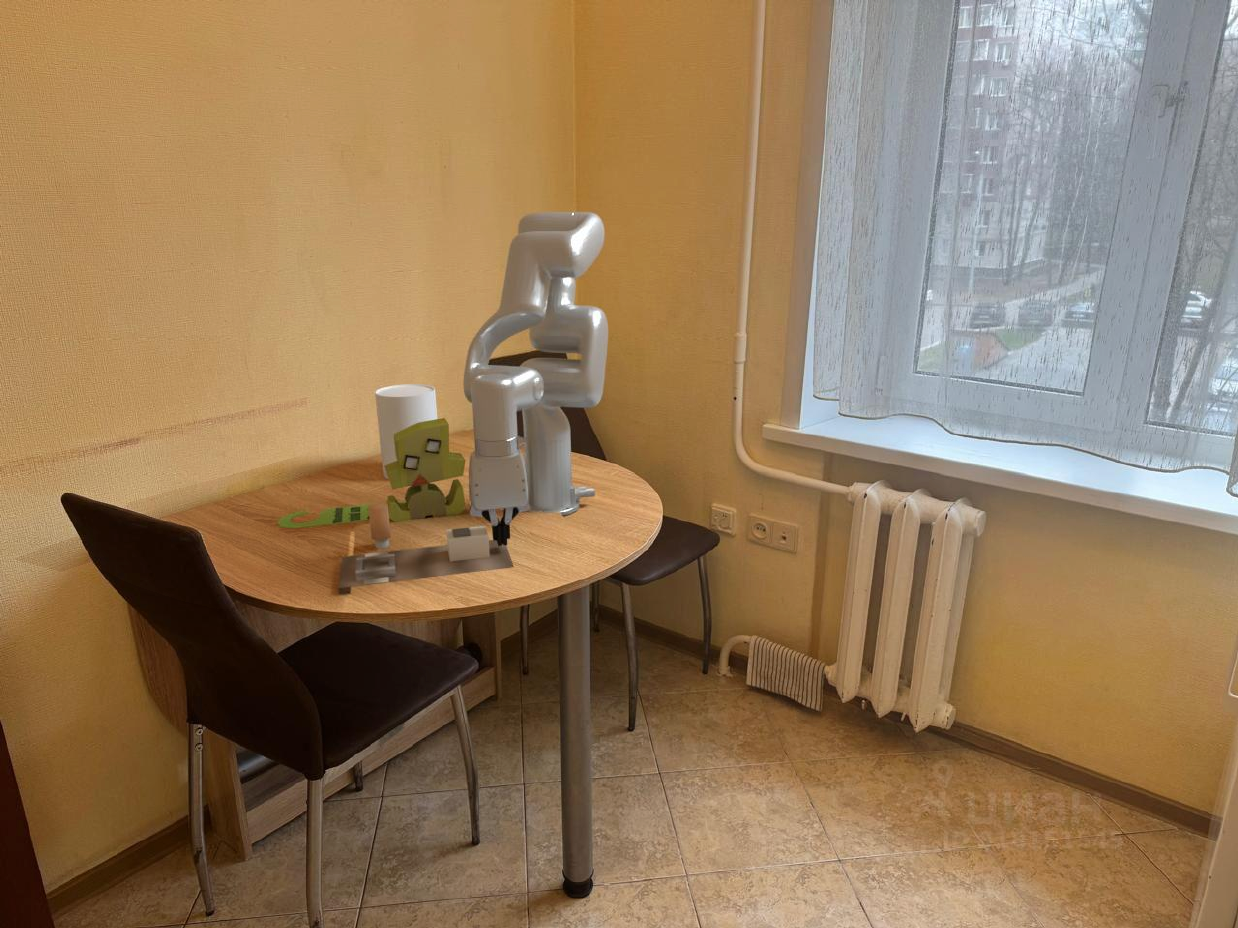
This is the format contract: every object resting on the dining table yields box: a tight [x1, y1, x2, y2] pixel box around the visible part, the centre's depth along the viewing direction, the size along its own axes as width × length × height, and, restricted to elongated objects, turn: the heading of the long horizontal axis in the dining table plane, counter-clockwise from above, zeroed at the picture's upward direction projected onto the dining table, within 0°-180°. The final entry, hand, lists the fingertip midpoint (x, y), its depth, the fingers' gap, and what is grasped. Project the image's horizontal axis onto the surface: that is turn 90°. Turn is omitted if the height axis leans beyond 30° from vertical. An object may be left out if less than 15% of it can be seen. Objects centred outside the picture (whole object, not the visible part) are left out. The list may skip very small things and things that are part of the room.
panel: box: [338, 539, 515, 595], centre depth 146 cm, size 29×13×3 cm, turn 105°
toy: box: [385, 417, 467, 523], centre depth 166 cm, size 16×6×20 cm, turn 110°
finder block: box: [445, 525, 490, 561], centre depth 148 cm, size 7×5×4 cm
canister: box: [374, 383, 439, 480], centre depth 195 cm, size 14×14×20 cm
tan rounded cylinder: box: [368, 502, 392, 550], centre depth 152 cm, size 3×3×9 cm
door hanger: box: [277, 500, 404, 529], centre depth 171 cm, size 9×1×25 cm
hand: (501, 542), depth 150 cm, fingers closed
